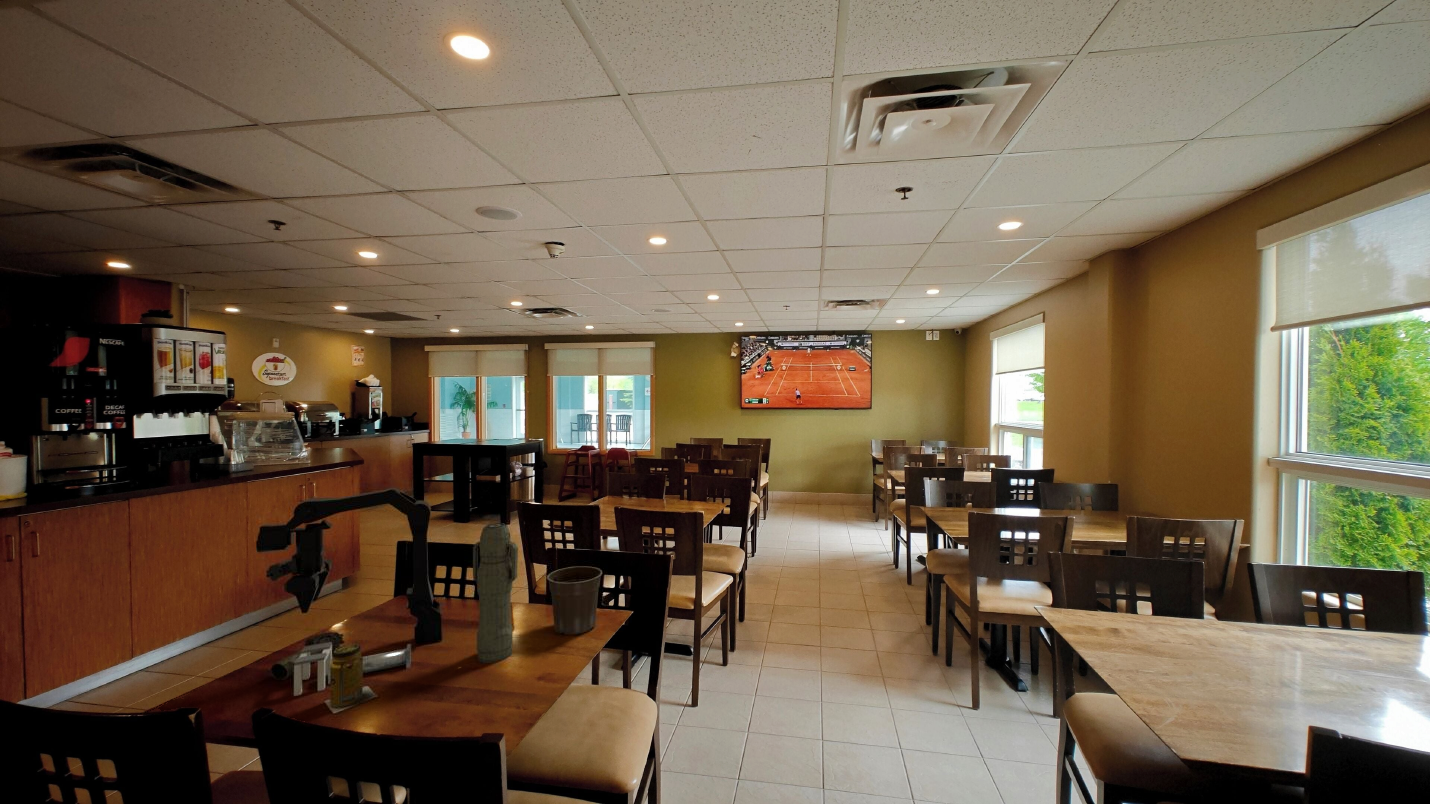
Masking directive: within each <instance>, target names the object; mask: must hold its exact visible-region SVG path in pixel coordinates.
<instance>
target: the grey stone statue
mask: <svg viewBox="0 0 1430 804" xmlns="http://www.w3.org/2000/svg"><path fill="white" fill-rule="evenodd" d="M510 553H511V556H510ZM518 553H519V547H518V545H517V544H516V542H512V540H511V531H510V530H509V526H508V525H507V524H505V523H503V522H502V523H501V522H495V523H489V524H486V525H485V526H483V527H482V530H481V534H480V538H479V541H477V542H475V544H474V545H473V547H472V577H473V581H474V582H475V583H476V584H477V586H476V591H477V594H478V599H479V600H478V606H479V607H478V611H479V612H478V630H477V633H476V650H477V657H476V659H477V660H478V661H479V662H480V663H484V664H488V663H489V664H491V663H497V662H500V661H504V660H506V659H508V658H509V657H511V656H512V654H513V647H512V646H513V643H514V642H513V641H514V640H513V638H514V637H513V636H514V635H513V634H514V633H513V632H514V631H513V629H514V627H513V624H512V620H511V615H512V614H511V612H512V611H511V610H512V609H511V607H512V606H511V605H512V604H511V600H512V599H511V596H512V595H511V594H512V593H511V591H512V589H513V582H514V581H515V580H516V579H517V578H518V557H519V556H518V555H519V554H518ZM479 557H480V560H479Z"/></svg>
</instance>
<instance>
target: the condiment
mask: <svg viewBox="0 0 1430 804" xmlns="http://www.w3.org/2000/svg"><path fill="white" fill-rule="evenodd" d="M361 649H362V647H361V644H357V643H352V644H351V643H350V644H346V645H344V644H343V645H340V647H339V648H337V649H335V650H334V651H333V653H332V658H333V659H332V661H333V662H332V663H331V668H330V684H329V686H330V688H329V695H330V696H329V699H327V700H325V701H324V703H325V704H326V705H327V707H328V708H329V710H330V711H331V712H332V714H336V713H339V712H341V711H344V710H346V709H349V708H352V707H355V706H357V705H359V704H361V703H364V702H367V701H370V700H372V699H373V698H377V697H378V695H377V694H376V693H375V692H374V691H373V690H372V689H371V688H370V687H369V686H368V685H366V686H363V682H364V681H363V679H364V678H363V677H364V673H363V658H362V657H363V656H362V651H361Z"/></svg>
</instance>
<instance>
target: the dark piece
mask: <svg viewBox="0 0 1430 804" xmlns="http://www.w3.org/2000/svg"><path fill="white" fill-rule="evenodd" d="M343 637H344V634H343V633H340V632H337V631H332V632H331V631H329V632H321V634H315V635H314V636H310V637H308V638H307V639H306V640H305V642H304V646H310V645H316V644H322V643H328V642H332V654H333V651H334V650H335V649H337V648H339V647H341V645H344V644H345V642H346V641H344V640H343V639H344V638H343ZM301 651H302V649H301V650H299V651H297V652H295V653H294V654H292V655H288V656H287V657H284V658H283V659H281V660H279V661H277V662H274V664H273V665H272V666H270V669H269V671H270V674H271V676H272V678H274V679H275V680H280V681H284V680H286V679H288V678H289V677H291V676H292V675H294V663H295V661H296V659H297V658H298V657H300V655H301ZM322 652H323V650H320V651H314V652H310V655H315V654H321V653H322ZM312 663H313V662H310V664H312ZM302 669H303V666H302Z"/></svg>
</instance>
